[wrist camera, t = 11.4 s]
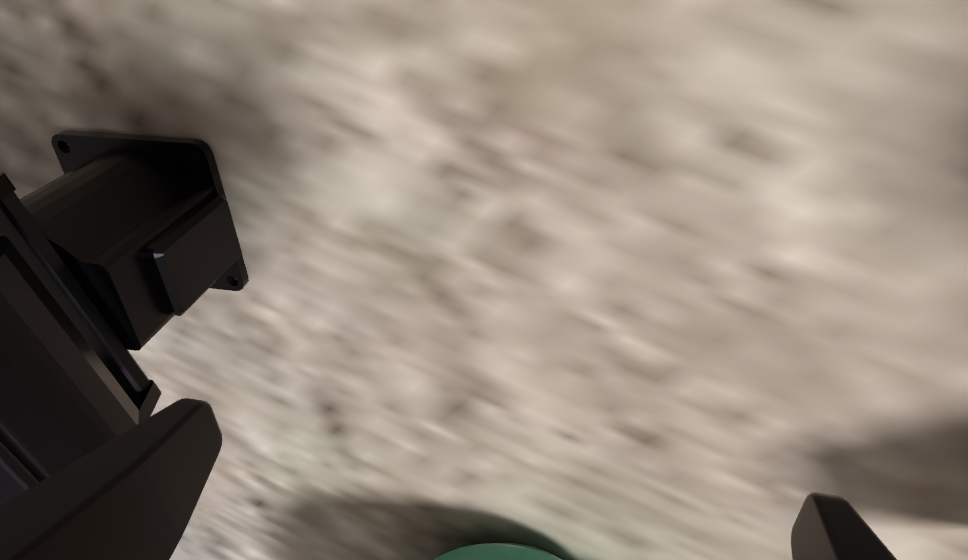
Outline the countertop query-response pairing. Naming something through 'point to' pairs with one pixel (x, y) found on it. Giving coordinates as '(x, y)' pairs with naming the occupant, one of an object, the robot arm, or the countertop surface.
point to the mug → (498, 552)
